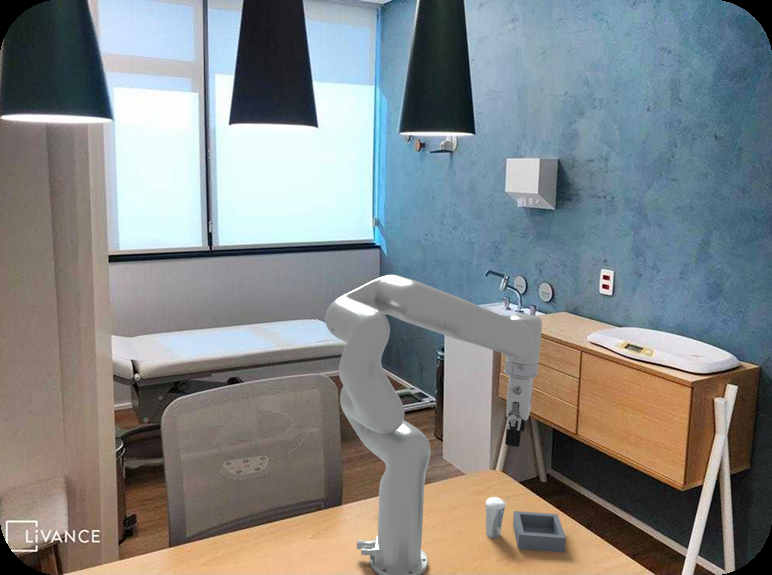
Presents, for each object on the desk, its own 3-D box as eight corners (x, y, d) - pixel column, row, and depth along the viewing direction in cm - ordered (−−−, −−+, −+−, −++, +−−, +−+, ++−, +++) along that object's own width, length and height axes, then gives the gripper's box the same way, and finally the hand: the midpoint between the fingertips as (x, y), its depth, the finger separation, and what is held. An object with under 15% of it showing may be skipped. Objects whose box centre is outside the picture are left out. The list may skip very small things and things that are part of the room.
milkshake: (507, 540, 153) (510, 501, 151) (484, 539, 153) (487, 500, 151) (504, 530, 157) (507, 491, 155) (482, 529, 157) (484, 490, 155)
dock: (518, 549, 149) (519, 534, 149) (512, 524, 160) (513, 511, 159) (564, 552, 149) (565, 538, 148) (556, 527, 159) (557, 514, 158)
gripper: (534, 380, 142) (527, 454, 145) (541, 360, 159) (534, 427, 162) (499, 375, 145) (493, 448, 148) (509, 356, 161) (504, 422, 164)
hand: (514, 437), depth 155 cm, fingers open, 9 cm apart
